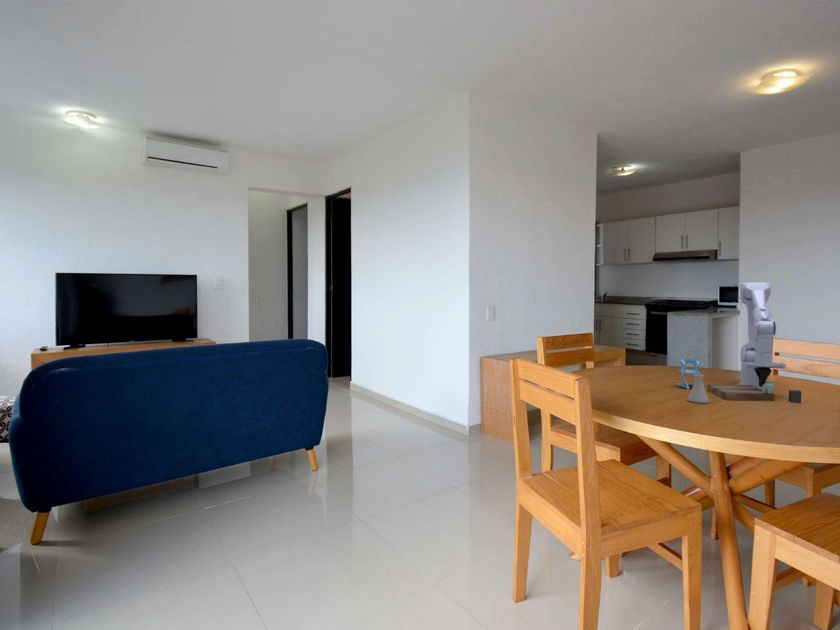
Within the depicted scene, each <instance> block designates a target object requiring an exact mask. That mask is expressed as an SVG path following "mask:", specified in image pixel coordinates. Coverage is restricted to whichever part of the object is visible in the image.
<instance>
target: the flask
mask: <svg viewBox="0 0 840 630" xmlns="http://www.w3.org/2000/svg"><path fill="white" fill-rule="evenodd" d="M693 376H694V382H693V384H694V385H693V386H692V388H691V389H690V392H689V394H688V397H687V401H688V402H691V403H697V404H709V403H710V400H709V397H708V395H707V392H706V389H705V386H704V376H705V375H704V374H701V373H700V374H693Z"/></svg>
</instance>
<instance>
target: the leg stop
mask: <svg viewBox="0 0 840 630" xmlns="http://www.w3.org/2000/svg"><path fill="white" fill-rule="evenodd" d="M789 401H790V403H792V402H801V403H802V391H801V390H798V389H788V402H789Z"/></svg>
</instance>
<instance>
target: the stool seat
mask: <svg viewBox="0 0 840 630" xmlns="http://www.w3.org/2000/svg"><path fill="white" fill-rule="evenodd" d="M707 391H708V392H709V393H712V394H714V395H715V396H718V397H720V398H722V399H723V400H726V401H755V402H757V401H758V402H759V401H762V402H768V401H769V402H773V401H774V400H775V399H774V393H771V394H770V393H762V389H759V388H757V387H754V386H752V385H738V384H717V383H716V384H714V383H713V384H708V383H707Z"/></svg>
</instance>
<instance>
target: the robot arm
mask: <svg viewBox="0 0 840 630" xmlns="http://www.w3.org/2000/svg"><path fill="white" fill-rule="evenodd" d="M771 290H772V287H771V283H770V282H769V281H761V282H760V281H759V282H757V281H754V282H753V281H751V282H749V281H748V282H745V281H742V282H741V283H740V300H741V304H744V305H745V307H746V309H747V331H748V332H747V334H748V342H747V343H745V344H744V345H742V346H741V348H740V363H741V368H740V373H739V374H740V375H739V376H740V380H739V382H738V383H737V385H752V386H754V387H757V388H759V389H762V386H763V385H764V384H765V383H766V382H767V379H768V378H769V376H771V373H772V372H773V370H772V369H781V370H782V369H783V370H786V365H787V364H786V363H784V362H773V361H774V360H773V359H774V358H773V355H774V336H776V334H777V333H776V332H777V323H776V320H775V319H774V318H773V317H772V313H771V309H770V308H769V307H768V306H767V303H768V301H769V298H770V295H771Z"/></svg>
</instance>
